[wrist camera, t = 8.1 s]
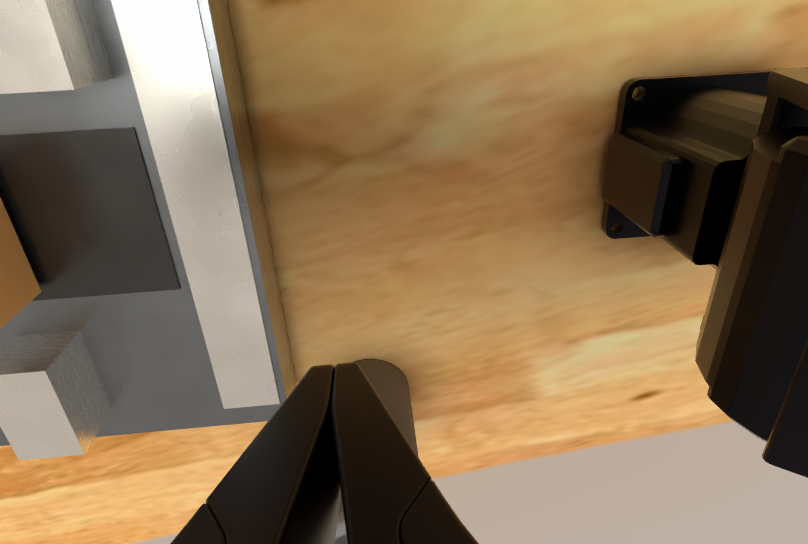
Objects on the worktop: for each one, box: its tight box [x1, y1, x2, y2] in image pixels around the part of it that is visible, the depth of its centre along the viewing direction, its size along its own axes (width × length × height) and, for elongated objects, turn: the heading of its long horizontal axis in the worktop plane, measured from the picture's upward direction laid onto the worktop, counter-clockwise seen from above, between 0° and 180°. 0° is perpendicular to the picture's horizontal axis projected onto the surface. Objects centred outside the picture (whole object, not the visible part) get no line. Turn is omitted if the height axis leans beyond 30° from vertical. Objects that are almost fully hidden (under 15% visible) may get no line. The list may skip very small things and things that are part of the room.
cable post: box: [335, 359, 418, 544], centre depth 22 cm, size 5×5×9 cm
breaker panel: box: [0, 0, 296, 460], centre depth 18 cm, size 13×20×5 cm, turn 3°
